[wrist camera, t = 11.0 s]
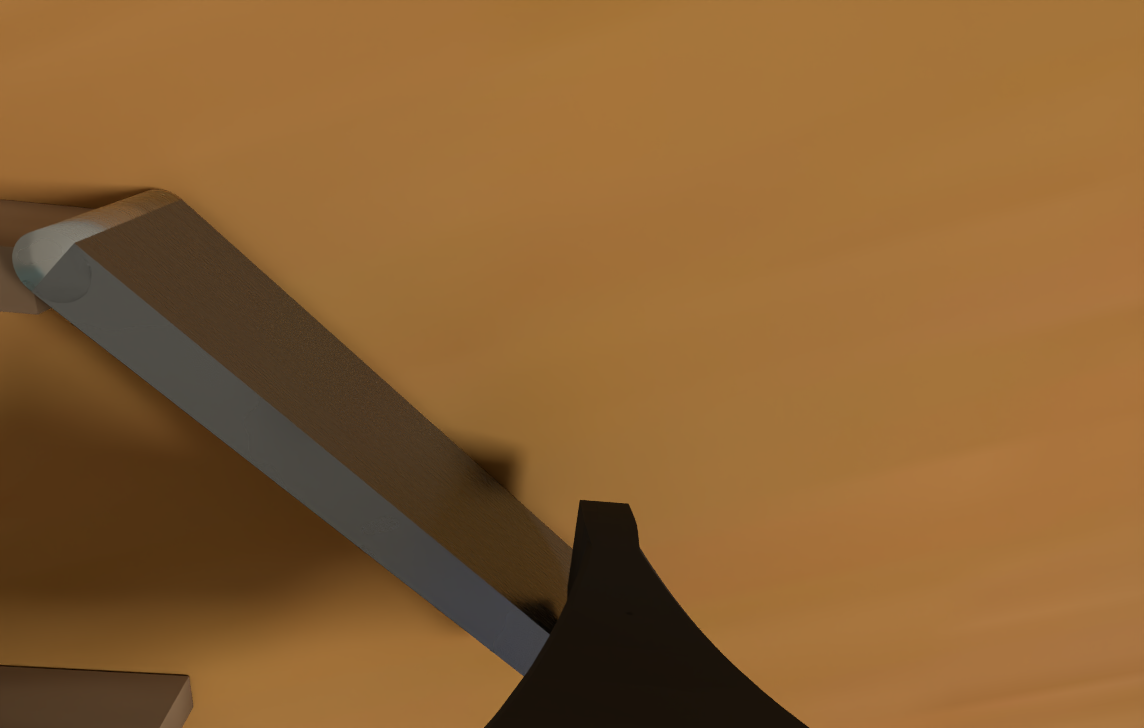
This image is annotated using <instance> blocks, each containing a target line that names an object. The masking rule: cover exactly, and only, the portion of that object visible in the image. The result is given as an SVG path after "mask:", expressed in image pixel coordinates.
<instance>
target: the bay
mask: <svg viewBox="0 0 1144 728" xmlns="http://www.w3.org/2000/svg"><path fill="white" fill-rule="evenodd" d="M92 210H95V209H91V208H81V207H71V206H61V205H51V204H41V203H31V202H21V201H10V200H0V311H3V312H14V313H26V314H37V315H38V314H40V313H42V312H44V311H46V310H48V309H50V308H52V307H50V306H49V305H48V304H46V303H45V302H44V301H43V300H41V299H40V298H39V297H37V296H36V295H35V294H34V293H32V292H31V291H30V290H29V289H28V288H27V287H26V286H25V285H24V284H23V283H22V282H21V280H20V279H19V277H18V276H17V274H16V272H15V269H14V266H13V261H12V253H13V249H14V246H15V244H16V242H17V241H18V240H19V239H20V238H21V237H22V236H24V235H25V234H27V233H29V232H32V231H35V230H38V229H41V228H44V227H46V226H49V225H52V224H55V223H58V222H61V221H63V220H66V219H69V218H72V217H75V216H78V215H80V214H83V213H86V212H89V211H92ZM192 708H193V700H192V693H191V686H190V680H189V676H178V675H158V674H139V673H120V672H101V671H82V670H63V669H44V668H24V667H5V666H0V728H182V727H183V725H184V723H185V721H186V719H187V718H188V716H189V714H190V712H191V710H192Z"/></svg>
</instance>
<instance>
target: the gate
mask: <svg viewBox="0 0 1144 728" xmlns="http://www.w3.org/2000/svg"><path fill="white" fill-rule="evenodd" d="M12 261H13V266H14V269H15V272H16V274H17V276H18V277H19V279H20V280H21V282H22V283H23V284H24V285H25V286H26V287H27V288H28V289H29V290H30V291H31V292H32V293H34V294H35V295H36V296H37V297H39V298H40V299H41V300H43V301H44V302H45V303H46V304H48V305H49V306H50V307H52V308H53V309H54V310H55V311H57V312H58V313H59V314H61V315H62V316H63V317H64V318H66V319H67V320H68V321H70V322H71V323H72V324H73V325H75V326H76V327H77V328H78V329H80V330H81V331H82V332H84V333H85V334H86V335H87V336H89V337H90V338H91V339H93V340H94V341H95V342H96V343H98V344H99V345H100V346H102V347H103V348H104V349H105V350H107V351H108V352H109V353H111V354H112V355H113V356H114V357H116V358H117V359H118V360H119V361H121V362H122V363H123V364H125V365H126V366H127V367H128V368H130V369H131V370H132V371H134V372H135V373H136V374H137V375H139V376H140V377H141V378H143V379H144V380H145V381H146V382H148V383H149V384H150V385H151V386H153V387H154V388H155V389H157V390H158V391H159V392H160V393H162V394H163V395H164V396H166V397H167V398H168V399H169V400H171V401H172V402H173V403H175V404H176V405H177V406H178V407H180V408H181V409H182V410H184V411H185V412H186V413H187V414H189V415H190V416H191V417H192V418H194V419H195V420H196V421H198V422H199V423H200V424H201V425H203V426H204V427H205V428H207V429H208V430H209V431H210V432H212V433H213V434H214V435H216V436H217V437H218V438H219V439H221V440H222V441H223V442H224V443H226V444H227V445H228V446H230V447H231V448H232V449H233V450H235V451H236V452H237V453H239V454H240V455H241V456H242V457H244V458H245V459H246V460H248V461H249V462H250V463H251V464H253V465H254V466H255V467H257V468H258V469H259V470H260V471H262V472H263V473H264V474H265V475H267V476H268V477H269V478H271V479H272V480H273V481H274V482H276V483H277V484H278V485H280V486H281V487H282V488H283V489H285V490H286V491H287V492H289V493H290V494H291V495H292V496H294V497H295V498H296V499H298V500H299V501H300V502H301V503H303V504H304V505H305V506H306V507H308V508H309V509H310V510H312V511H313V512H314V513H315V514H317V515H318V516H319V517H321V518H322V519H323V520H324V521H326V522H327V523H328V524H330V525H331V526H332V527H333V528H335V529H336V530H337V531H338V532H340V533H341V534H342V535H344V536H345V537H346V538H347V539H349V540H350V541H351V542H353V543H354V544H355V545H356V546H358V547H359V548H360V549H362V550H363V551H364V552H365V553H367V554H368V555H369V556H371V557H372V558H373V559H374V560H376V561H377V562H378V563H379V564H381V565H382V566H383V567H385V568H386V569H387V570H388V571H390V572H391V573H392V574H394V575H395V576H396V577H397V578H399V579H400V580H401V581H403V582H404V583H405V584H406V585H408V586H409V587H410V588H412V589H413V590H414V591H415V592H417V593H418V594H419V595H420V596H422V597H423V598H424V599H426V600H427V601H428V602H429V603H431V604H432V605H433V606H435V607H436V608H437V609H438V610H440V611H441V612H442V613H444V614H445V615H446V616H447V617H449V618H450V619H451V620H452V621H454V622H455V623H456V624H458V625H459V626H460V627H461V628H463V629H464V630H465V631H467V632H468V633H469V634H470V635H472V636H473V637H474V638H476V639H477V640H478V641H479V642H481V643H482V644H483V645H485V646H486V647H487V648H488V649H490V650H491V651H492V652H493V653H495V654H496V655H497V656H499V657H500V658H501V659H502V660H504V661H505V662H506V663H508V664H509V665H510V666H511V667H513V668H514V669H515V670H517V671H518V672H519V673H520V674H522V675H523V676H525V674H526V673H527V672H528V670H529V668H530V667H531V665H532V664H533V662H534V661H535V659H536V657H537V656H538V654H539V652H540V651H541V649H542V647H543V646H544V644H545V642H546V641H547V639H548V637H549V635H550V634H551V632H552V630H553V628H554V626H555V624H556V622H557V620H558V618H559V616H560V614H561V612H562V610H563V608H564V606H565V604H566V601H567V586H568V579H569V572H570V565H571V558H572V551H573V549H572V548H571V547H570V546H568V545H567V544H566V543H565V542H564V541H563V540H562V539H561V538H559V537H558V536H557V535H556V534H555V533H554V532H553V531H552V530H551V529H549V528H548V527H547V526H546V525H545V524H544V523H543V522H542V521H540V520H539V519H538V518H537V517H536V516H535V515H534V514H533V513H532V512H530V511H529V510H528V509H527V508H526V507H525V506H524V505H523V504H521V503H520V502H519V501H518V500H517V499H516V498H515V497H514V496H513V495H511V494H510V493H509V492H508V491H507V490H506V489H505V488H504V487H502V486H501V485H500V484H499V483H498V482H497V481H496V480H495V479H494V478H492V477H491V476H490V475H489V474H488V473H487V472H486V471H485V470H483V469H482V468H481V467H480V466H479V465H478V464H477V463H476V462H475V461H473V460H472V459H471V458H470V457H469V456H468V455H467V454H466V453H464V452H463V451H462V450H461V449H460V448H459V447H458V446H457V445H456V444H454V443H453V442H452V441H451V440H450V439H449V438H448V437H447V436H445V435H444V434H443V433H442V432H441V431H440V430H439V429H438V428H437V427H435V426H434V425H433V424H432V423H431V422H430V421H429V420H428V419H426V418H425V417H424V416H423V415H422V414H421V413H420V412H419V411H418V410H416V409H415V408H414V407H413V406H412V405H411V404H410V403H409V402H407V401H406V400H405V399H404V398H403V397H402V396H401V395H400V394H399V393H397V392H396V391H395V390H394V389H393V388H392V387H391V386H390V385H388V384H387V383H386V382H385V381H384V380H383V379H382V378H381V377H380V376H378V375H377V374H376V373H375V372H374V371H373V370H372V369H371V368H370V367H368V366H367V365H366V364H365V363H364V362H363V361H362V360H361V359H359V358H358V357H357V356H356V355H355V354H354V353H353V352H352V351H351V350H349V349H348V348H347V347H346V346H345V345H344V344H343V343H342V342H340V341H339V340H338V339H337V338H336V337H335V336H334V335H333V334H332V333H330V332H329V331H328V330H327V329H326V328H325V327H324V326H323V325H321V324H320V323H319V322H318V321H317V320H316V319H315V318H314V317H313V316H311V315H310V314H309V313H308V312H307V311H306V310H305V309H304V308H302V307H301V306H300V305H299V304H298V303H297V302H296V301H295V300H294V299H292V298H291V297H290V296H289V295H288V294H287V293H286V292H285V291H283V290H282V289H281V288H280V287H279V286H278V285H277V284H276V283H275V282H273V281H272V280H271V279H270V278H269V277H268V276H267V275H266V274H264V273H263V272H262V271H261V270H260V269H259V268H258V267H257V266H256V265H254V264H253V263H252V262H251V261H250V260H249V259H248V258H247V257H245V256H244V255H243V254H242V253H241V252H240V251H239V250H238V249H237V248H235V247H234V246H233V245H232V244H231V243H230V242H229V241H228V240H226V239H225V238H224V237H223V236H222V235H221V234H220V233H219V232H218V231H216V230H215V229H214V228H213V227H212V226H211V225H210V224H209V223H207V222H206V221H205V220H204V219H203V218H202V217H201V216H200V215H199V214H197V213H196V212H195V211H194V210H193V209H192V208H191V207H190V206H188V205H187V204H186V203H185V202H184V201H183V200H182V199H181V198H179V197H178V196H177V195H175V194H173V193H171V192H169V191H166V190H161V189H153V190H149V191H146V192H143V193H140V194H137V195H134V196H131V197H129V198H126V199H123V200H120V201H117V202H114V203H112V204H109V205H106V206H103V207H100V208H97V209H95V210H92V211H89V212H86V213H83V214H80V215H78V216H75V217H72V218H69V219H66V220H63V221H61V222H58V223H55V224H52V225H49V226H46V227H44V228H41V229H38V230H35V231H32V232H29V233H27V234H25V235H24V236H22V237H21V238H20V239H19V240H18V241H17V242H16V244H15V246H14V249H13V253H12Z"/></svg>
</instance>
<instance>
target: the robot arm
mask: <svg viewBox="0 0 1144 728" xmlns="http://www.w3.org/2000/svg"><path fill="white" fill-rule="evenodd" d="M484 728H809V727H808V726H806V725H805V724H804V723H802V722H801V721H800V720H798V719H797V718H796V717H794V716H793V715H792V714H791V713H789V712H788V711H787V710H785V709H784V708H783V707H781V706H780V705H779V704H778V703H777V702H775V701H774V700H773V699H772V698H771V697H769V696H768V695H767V694H766V693H764V692H763V691H762V690H761V689H760V688H759V687H758V686H756V685H755V684H754V683H753V682H752V681H751V680H750V679H749V678H748V677H747V676H745V675H744V674H743V673H742V672H741V671H740V670H739V669H738V668H737V667H735V666H734V665H733V664H732V663H731V662H730V661H729V660H728V659H727V658H726V657H725V656H724V655H723V654H722V653H721V652H720V651H719V650H718V649H717V648H716V647H715V646H714V644H713V643H712V642H711V641H710V640H709V639H708V638H707V637H706V636H705V635H704V634H703V633H702V631H701V630H700V629H699V628H698V627H697V626H696V625H695V623H694V622H693V621H692V620H691V618H690V617H689V616H688V615H687V614H686V612H685V611H684V610H683V609H682V607H681V606H680V605H679V603H678V602H677V601H676V600H675V598H674V597H673V596H672V594H671V593H670V592H669V590H668V589H667V587H666V586H665V585H664V583H663V582H662V580H661V579H660V578H659V576H658V575H657V573H656V572H655V570H654V569H653V567H652V566H651V564H650V563H649V561H648V560H647V558H646V557H645V555H644V554H643V552H642V550H641V549H640V547H639V538H638V530H637V524H636V521H635V518H634V516H633V513H632V511H631V508H630V506H629V504H624V503H612V502H599V501H587V500H580V503H579V510H578V517H577V524H576V531H575V538H574V544H573V551H572V558H571V565H570V572H569V579H568V586H567V601H566V604H565V606H564V608H563V610H562V612H561V614H560V616H559V618H558V620H557V622H556V624H555V626H554V628H553V630H552V632H551V634H550V635H549V637H548V639H547V641H546V642H545V644H544V646H543V647H542V649H541V651H540V652H539V654H538V656H537V657H536V659H535V661H534V662H533V664H532V665H531V667H530V668H529V670H528V672H527V673H526V674H525V676H524V677H523V679H522V680H521V682H520V683H519V684H518V686H517V687H516V688H515V690H514V691H513V692H512V694H511V695H510V696H509V698H508V699H507V700H506V702H505V703H504V704H503V706H502V707H501V708H500V710H499V711H498V712H497V713H496V715H495V716H494V717H493V718H492V719H491V720H490V722H489V723H488V724H487V725H486V726H485V727H484Z"/></svg>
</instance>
